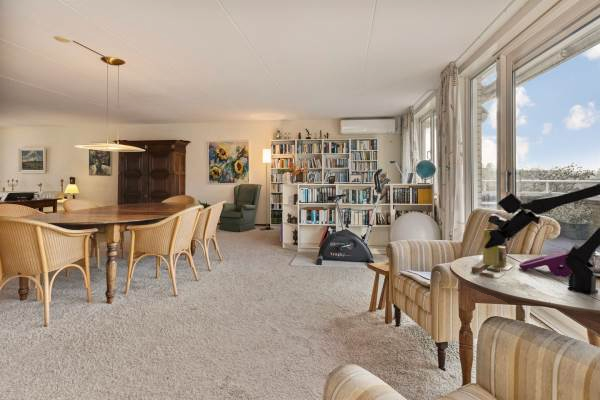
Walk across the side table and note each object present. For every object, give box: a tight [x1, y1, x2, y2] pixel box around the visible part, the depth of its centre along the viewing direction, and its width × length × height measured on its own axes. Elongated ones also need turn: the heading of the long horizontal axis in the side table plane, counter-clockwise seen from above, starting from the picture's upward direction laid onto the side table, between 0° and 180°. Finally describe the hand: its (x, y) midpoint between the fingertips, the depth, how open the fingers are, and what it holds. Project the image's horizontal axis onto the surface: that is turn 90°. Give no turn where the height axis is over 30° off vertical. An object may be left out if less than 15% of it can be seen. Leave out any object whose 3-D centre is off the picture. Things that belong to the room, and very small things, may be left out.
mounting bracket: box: [518, 249, 572, 278], centre depth 138 cm, size 9×8×18 cm
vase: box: [482, 228, 499, 265], centre depth 136 cm, size 6×6×14 cm
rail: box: [471, 246, 514, 279], centre depth 142 cm, size 11×24×9 cm, turn 134°
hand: (487, 246), depth 137 cm, fingers closed on vase, 5 cm apart
